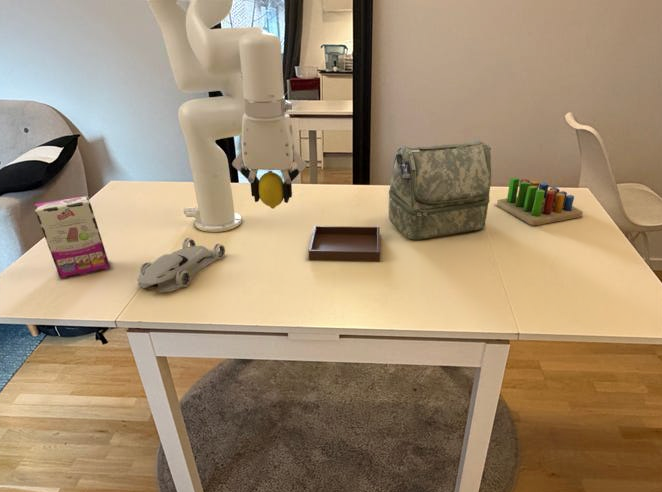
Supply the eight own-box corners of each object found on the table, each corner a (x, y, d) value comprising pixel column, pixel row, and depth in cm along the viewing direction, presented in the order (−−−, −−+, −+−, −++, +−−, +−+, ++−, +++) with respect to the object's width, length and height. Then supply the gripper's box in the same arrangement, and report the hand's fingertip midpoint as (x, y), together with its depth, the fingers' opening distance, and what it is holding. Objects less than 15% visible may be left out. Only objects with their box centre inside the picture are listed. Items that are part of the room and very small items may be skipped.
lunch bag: (404, 245, 139) (409, 158, 126) (379, 219, 153) (381, 138, 140) (493, 232, 146) (507, 148, 133) (462, 208, 160) (472, 130, 147)
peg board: (582, 217, 155) (590, 187, 150) (532, 226, 149) (539, 196, 144) (543, 197, 168) (549, 169, 162) (495, 205, 162) (500, 176, 157)
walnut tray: (309, 260, 133) (308, 250, 131) (314, 234, 145) (314, 225, 143) (379, 261, 132) (379, 252, 131) (379, 235, 144) (379, 226, 143)
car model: (229, 254, 135) (226, 235, 132) (167, 300, 117) (163, 280, 114) (191, 247, 138) (188, 228, 135) (126, 291, 120) (120, 270, 117)
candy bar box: (108, 261, 132) (88, 194, 122) (111, 269, 128) (91, 201, 119) (57, 270, 128) (33, 202, 118) (59, 279, 124) (34, 210, 114)
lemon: (290, 205, 118) (287, 168, 113) (279, 215, 113) (276, 177, 109) (267, 202, 119) (264, 165, 114) (255, 211, 115) (251, 173, 110)
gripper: (311, 104, 107) (314, 194, 118) (225, 102, 107) (236, 192, 118) (307, 114, 101) (310, 208, 112) (215, 112, 101) (228, 205, 112)
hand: (272, 199), depth 115 cm, fingers closed on lemon, 5 cm apart
